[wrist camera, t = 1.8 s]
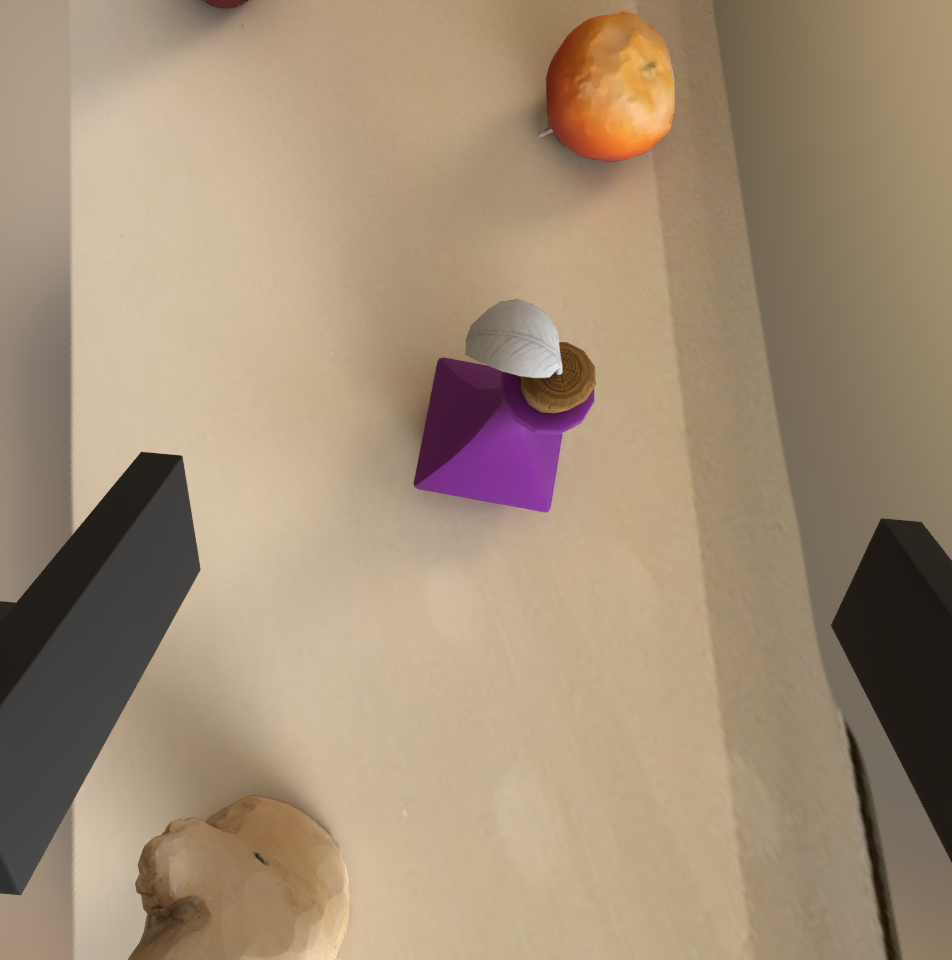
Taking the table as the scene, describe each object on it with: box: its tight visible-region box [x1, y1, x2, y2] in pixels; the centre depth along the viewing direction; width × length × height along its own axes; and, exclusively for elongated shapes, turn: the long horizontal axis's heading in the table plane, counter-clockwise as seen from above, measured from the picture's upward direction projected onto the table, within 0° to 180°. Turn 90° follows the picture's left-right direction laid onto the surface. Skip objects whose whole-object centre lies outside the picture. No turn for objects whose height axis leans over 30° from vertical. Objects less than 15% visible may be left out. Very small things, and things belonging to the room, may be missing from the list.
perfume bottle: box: [414, 299, 596, 512], centre depth 35 cm, size 8×8×18 cm
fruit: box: [539, 12, 674, 162], centre depth 45 cm, size 8×8×8 cm
